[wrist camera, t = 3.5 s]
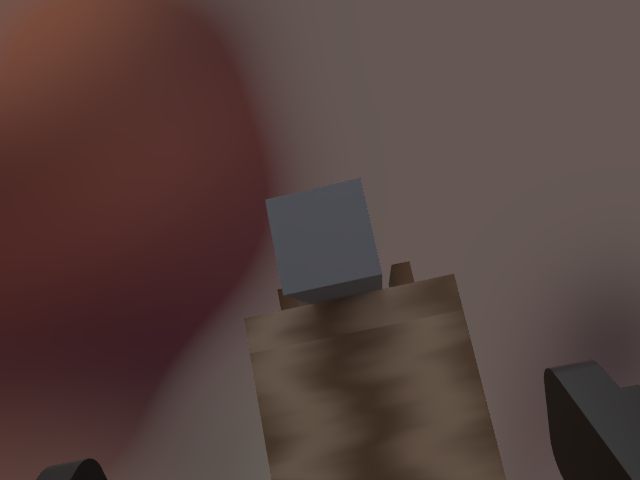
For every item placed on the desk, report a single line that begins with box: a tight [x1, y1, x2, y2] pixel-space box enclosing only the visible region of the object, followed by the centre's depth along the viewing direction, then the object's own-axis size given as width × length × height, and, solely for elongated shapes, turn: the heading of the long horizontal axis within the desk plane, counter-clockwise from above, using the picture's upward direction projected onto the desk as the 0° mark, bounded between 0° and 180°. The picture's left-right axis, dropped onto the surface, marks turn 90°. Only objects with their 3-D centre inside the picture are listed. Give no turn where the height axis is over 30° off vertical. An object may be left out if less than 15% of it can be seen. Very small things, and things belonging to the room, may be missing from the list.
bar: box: [265, 178, 382, 304], centre depth 31 cm, size 4×22×4 cm, turn 173°
